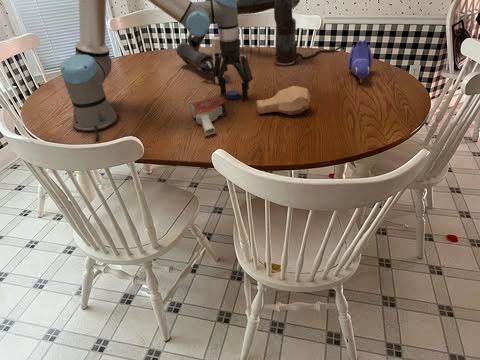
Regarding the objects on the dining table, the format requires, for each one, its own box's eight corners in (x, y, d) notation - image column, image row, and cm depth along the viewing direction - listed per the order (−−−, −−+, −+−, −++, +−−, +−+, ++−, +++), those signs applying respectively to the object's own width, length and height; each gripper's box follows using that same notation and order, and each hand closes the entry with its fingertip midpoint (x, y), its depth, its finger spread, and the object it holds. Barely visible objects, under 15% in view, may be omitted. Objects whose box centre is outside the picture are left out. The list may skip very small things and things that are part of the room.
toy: (346, 77, 167) (349, 86, 145) (348, 39, 161) (352, 42, 138) (368, 76, 165) (375, 85, 143) (371, 38, 158) (379, 41, 136)
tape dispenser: (210, 142, 120) (241, 115, 132) (208, 128, 116) (241, 102, 129) (170, 128, 127) (203, 104, 139) (167, 115, 124) (202, 91, 136)
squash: (314, 116, 128) (313, 95, 122) (259, 125, 130) (256, 105, 124) (308, 99, 136) (307, 78, 129) (257, 108, 138) (253, 88, 131)
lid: (241, 98, 145) (240, 93, 143) (228, 100, 143) (228, 95, 142) (237, 93, 149) (236, 89, 148) (225, 95, 147) (224, 91, 146)
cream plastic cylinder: (219, 84, 158) (215, 39, 146) (213, 82, 160) (209, 38, 149) (226, 82, 160) (223, 37, 148) (220, 80, 162) (216, 36, 151)
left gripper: (260, 38, 129) (262, 96, 142) (211, 34, 140) (217, 88, 153) (249, 44, 124) (252, 103, 137) (199, 39, 135) (206, 94, 148)
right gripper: (216, 65, 171) (236, 74, 160) (190, 72, 165) (208, 82, 154) (214, 49, 167) (235, 58, 155) (188, 56, 161) (207, 65, 149)
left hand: (234, 95), depth 145 cm, fingers open, 10 cm apart
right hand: (221, 70), depth 155 cm, fingers closed on cream plastic cylinder, 4 cm apart
